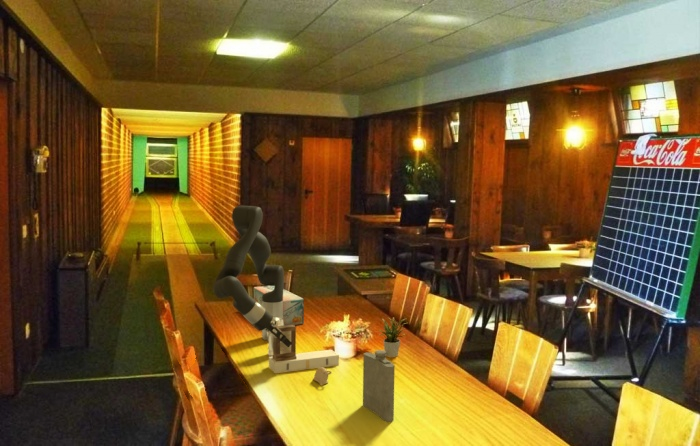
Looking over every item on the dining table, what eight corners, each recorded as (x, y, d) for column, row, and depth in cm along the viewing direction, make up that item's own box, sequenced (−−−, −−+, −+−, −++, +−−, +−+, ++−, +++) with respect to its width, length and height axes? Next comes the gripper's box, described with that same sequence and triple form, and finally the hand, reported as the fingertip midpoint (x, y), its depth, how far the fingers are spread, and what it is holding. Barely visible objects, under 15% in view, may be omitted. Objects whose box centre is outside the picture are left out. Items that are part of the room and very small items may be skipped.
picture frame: (276, 361, 240) (276, 329, 239) (272, 357, 244) (272, 325, 243) (296, 359, 243) (296, 327, 242) (292, 355, 248) (292, 324, 246)
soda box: (305, 324, 310) (305, 298, 309) (278, 328, 304) (278, 301, 303) (276, 307, 347) (276, 284, 345) (252, 309, 341) (252, 286, 339)
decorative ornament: (322, 378, 234) (322, 363, 234) (333, 385, 227) (333, 370, 226) (312, 379, 232) (312, 365, 232) (322, 386, 225) (323, 372, 224)
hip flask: (361, 405, 209) (361, 345, 207) (371, 402, 210) (372, 344, 209) (386, 422, 195) (388, 359, 193) (397, 420, 197) (399, 357, 195)
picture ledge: (275, 373, 238) (275, 363, 238) (268, 366, 246) (268, 356, 245) (338, 365, 249) (339, 355, 248) (331, 359, 256) (331, 349, 256)
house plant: (416, 353, 266) (417, 314, 264) (405, 362, 254) (406, 322, 252) (385, 348, 272) (385, 311, 270) (372, 357, 259) (373, 318, 258)
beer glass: (280, 357, 258) (280, 321, 256) (264, 356, 259) (264, 320, 257) (285, 352, 264) (286, 317, 263) (269, 351, 266) (269, 316, 264)
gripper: (269, 312, 232) (299, 339, 238) (259, 304, 245) (287, 330, 251) (255, 327, 230) (285, 355, 236) (245, 318, 243) (274, 344, 249)
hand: (286, 342), depth 244 cm, fingers open, 8 cm apart
